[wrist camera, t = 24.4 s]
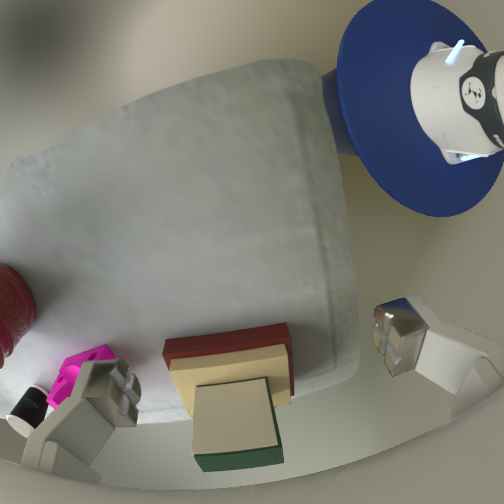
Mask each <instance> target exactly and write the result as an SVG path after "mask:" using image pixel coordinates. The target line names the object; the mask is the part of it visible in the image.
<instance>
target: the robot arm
mask: <svg viewBox="0 0 504 504" xmlns="http://www.w3.org/2000/svg"><path fill="white" fill-rule="evenodd" d="M463 43H464V40H460V41H459V42H458V43H457V45H456V46H455V47H453V48H452V47H450V46H448V45H446V44H444V43H442V42H434V43H433V44H432V46H431V48H430V51H429V53H428V54H427V55H426V56H425V57H423V58H422V59H421V60H420V61H419V62H418V63H417V64H416V66H415V68H414V70H413V73H412V77H411V84H410V91H411V100H412V105H413V108H414V112H415V115H416V117H417V119H418V121H419V123H420V125H421V127H422V129H423V130H424V132H425V133H426V134H427V136H428V137H429V138H430V139H431V140H432V141H433V142H434V143H435V144H437V146H438V147H439V148H440V150H441V152H442V154H443V156H444V158H445V160H446V161H447V163H449V164H458V163H461V162H464V161H468V160H471V159H474V158H478V157H488V156H489V155H490V154H494V153H496V152H498V151H501V150H503V149H504V51H501V52H500V51H491V52H488V53H484V52H482V51H481V50H480V49H477V48H476V47H475V46H473V45H468V46H462V44H463ZM374 317H375V319H376V320H377V321H376V322H375V324H374V325H373V329H372V336H373V342H374V344H375V346H376V349H377V351H378V353H381V354H382V355H385V360H384V363H385V365H386V367H387V369H388V370H389V372H390V374H391V376H392V377H394V376H397V375H399V374H402V373H405V372H407V371H410V370H412V369H415V370H416V371H417V372H419V373H420V374H422V375H423V376H425V377H427V378H428V379H430V380H431V381H433V382H435V383H436V384H438V385H440V386H441V387H443V388H444V389H446V390H448V391H449V392H451V393H452V394H454V395H456V396H455V398H454V400H453V401H452V403H451V405H450V406H449V409H448V412H449V413H450V415H451V417H452V419H451V420H449V421H447V422H445V423H443V424H442V425H440V426H438V427H436V428H434V429H432V430H430V431H428V432H426V433H424V434H422V435H420V436H418V437H416V438H413V439H411V440H409V441H407V442H404V443H402V444H400V445H397V446H395V447H393V448H390V449H388V450H385V451H383V452H380V453H377V454H375V455H372V456H369V457H367V458H363V459H361V460H358V461H355V462H352V463H348V464H345V465H342V466H339V467H335V468H332V469H328V470H325V471H321V472H317V473H313V474H309V475H305V476H300V477H295V478H291V479H286V480H280V481H275V482H269V483H262V484H256V485H248V486H240V487H229V488H217V489H199V490H158V489H140V488H128V487H118V486H109V485H102V484H100V481H101V475H100V473H99V472H98V471H96V470H95V469H93V468H92V467H90V465H91V463H92V462H93V460H94V459H95V457H96V456H97V455H98V453H99V452H100V450H101V449H102V447H103V446H104V444H105V443H106V442H107V440H108V438H109V437H110V436H111V434H112V433H113V431H114V430H115V427H136V424H137V418H138V409H137V407H136V404H137V403H138V402H139V401H140V398H141V387H140V383H139V381H138V378H137V377H136V376H135V374H133V373H131V372H130V371H128V367H129V365H128V364H127V363H126V361H125V360H124V359H109V360H96V361H85V362H84V363H82V365H81V368H80V371H79V373H78V376H77V379H76V382H75V385H74V387H73V390H72V393H71V396H70V397H67V398H66V399H65V400H64V401H63V402H62V403H61V404H60V405H59V406H58V407H57V408H56V409H55V410H54V411H53V412H52V413H51V414H50V415H49V416H48V417H47V418H46V419H45V420H44V421H43V422H42V423H41V424H40V425H39V426H38V427H37V428H36V429H35V430H34V431H33V432H32V433H31V434H30V435H29V436H28V439H27V443H26V446H25V449H24V453H23V456H22V460H21V464H20V465H18V464H15V463H12V462H10V461H7V460H4V459H1V458H0V504H504V344H503V343H501V342H498V341H496V340H494V339H491V338H488V337H486V336H483V335H481V334H478V333H476V332H473V331H471V330H468V329H465V328H463V327H460V326H458V325H455V324H453V323H450V322H443V321H442V320H441V319H440V318H439V317H438V315H437V314H436V313H435V312H434V311H433V309H432V308H431V307H430V306H429V305H428V304H427V303H426V302H425V300H424V299H423V298H422V297H421V296H420V295H419V294H417V293H414V294H411V295H408V296H405V297H403V298H400V299H397V300H394V301H391V302H388V303H384V304H381V305H378V306H376V308H375V310H374Z"/></svg>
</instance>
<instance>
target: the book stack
mask: <svg viewBox="0 0 504 504" xmlns="http://www.w3.org/2000/svg"><path fill="white" fill-rule="evenodd" d="M162 355H163V357H164V360H165V362H166V365H167V367H168V369H169V372H170V374H171V377H172V379H173V381H174V384H175V386H176V388H177V390H178V393H179V395H180V397H181V399H182V401H183V404H184V406H185V408H186V410H187V412H188V414H189V416H190V418H192V417H193V409H194V390H195V388H196V386H198V385H208V384H217V383H225V382H232V381H240V380H246V379H253V378H259V377H265V376H267V377H268V381H269V386H270V391H271V396H272V401H273V405H274V407H279V406H284V405H289V404H291V396H294V379H293V362H292V347H291V336H290V333H289V330H288V327H287V324H286V322H285V323H279V324H274V325H268V326H262V327H256V328H250V329H243V330H237V331H230V332H223V333H216V334H209V335H201V336H193V337H185V338H176V339H167V340H165V345H164V349H163V354H162Z"/></svg>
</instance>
